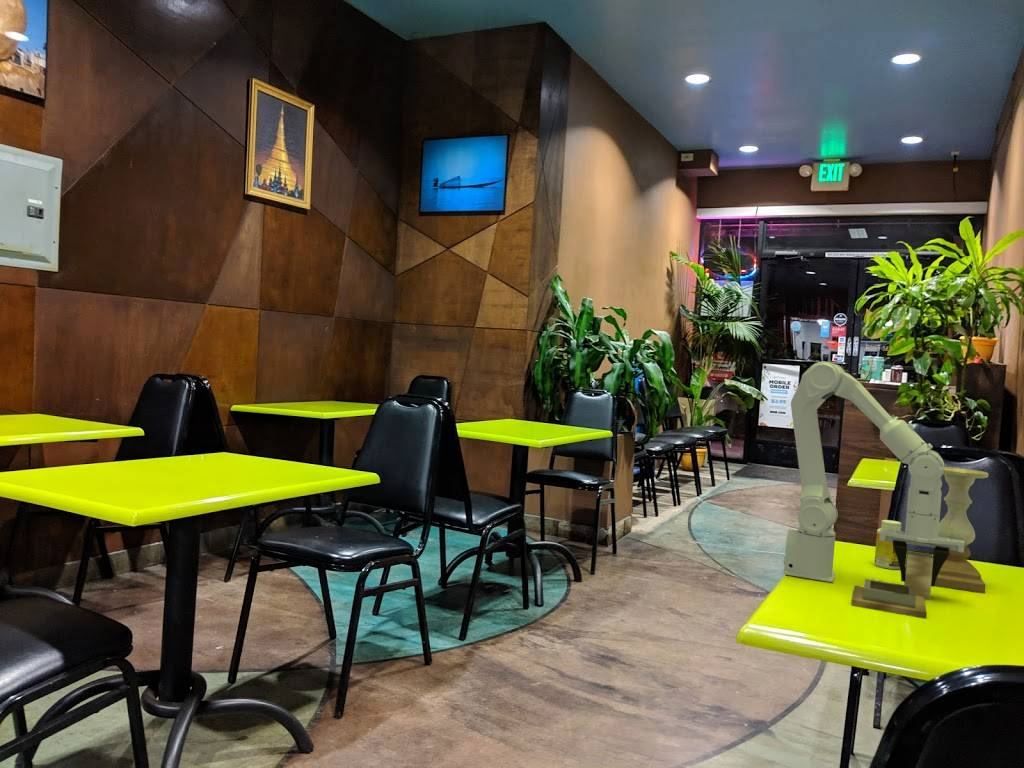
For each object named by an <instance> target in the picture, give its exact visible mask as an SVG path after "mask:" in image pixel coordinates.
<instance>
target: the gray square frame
mask: <svg viewBox="0 0 1024 768" xmlns="http://www.w3.org/2000/svg"><path fill="white" fill-rule="evenodd" d="M863 585H864V586H863V587H864V594H863V599H864V600H870V601H876V602H882V603H888V604H893V605H899V606H905V607H911V608H915V601H916V595H915V588H914V587H913V586H907V585H904V584H899V583H894V582H888V581H880V580H874V579H869V578H865V579H864V584H863Z"/></svg>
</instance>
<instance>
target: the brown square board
mask: <svg viewBox="0 0 1024 768" xmlns="http://www.w3.org/2000/svg"><path fill="white" fill-rule="evenodd" d="M863 594H864V586H860V585H854V586H853V592H852V596H851V606H854V607H860V608H865V609H871V610H877V611H881V610H882V612H887V611H889V612H888V613H893V612H895V613H894V614H898V613H900V614H899V615H904V614H905V615H906V616H910V615H911V616H910V617H916V618H921V617H922V619H927V616H928V611H927V607H926V602H925V600H926V599H924V597H921V596H916V601H915V608H911V607H905V606H899V605H893V604H888V603H882V602H876V601H870V600H864V599H863Z"/></svg>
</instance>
